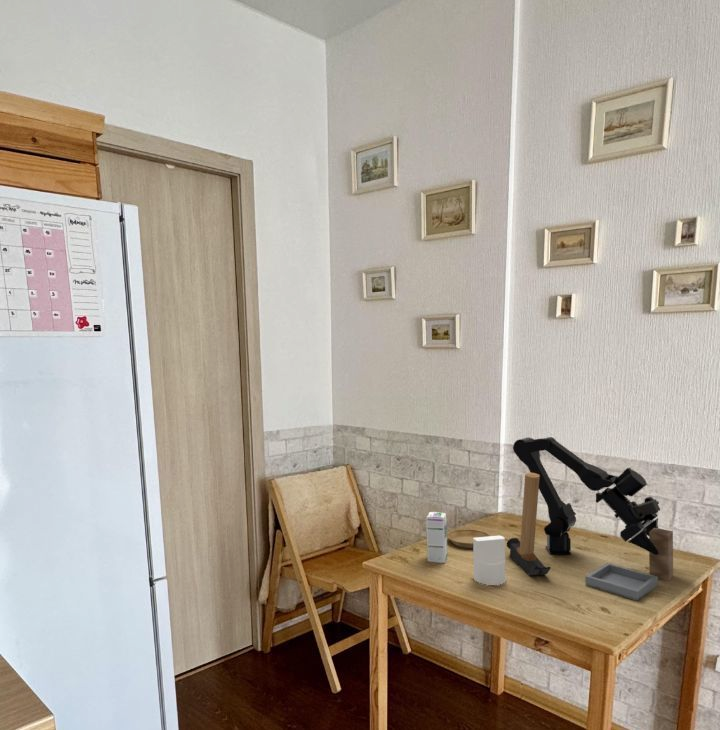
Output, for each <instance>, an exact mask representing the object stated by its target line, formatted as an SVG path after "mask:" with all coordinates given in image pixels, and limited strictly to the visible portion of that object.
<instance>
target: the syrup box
mask: <svg viewBox="0 0 720 730" xmlns="http://www.w3.org/2000/svg"><path fill="white" fill-rule="evenodd" d="M425 519H426V520H425V521H426V524H425V525H426V550H427V551H426V552H427V553H426V555H427V557H426V558H427V562H430V563H438V564H445V563H446V562H447V558H448V537H447V535H448V531H447V525H448V524H447V513H446V512H441V511H429V512H428V514H427V515H426V518H425Z"/></svg>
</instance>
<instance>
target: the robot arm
mask: <svg viewBox="0 0 720 730" xmlns="http://www.w3.org/2000/svg"><path fill="white" fill-rule="evenodd" d="M512 450H513V452H514V454H515V455H516V456H517V458H518V460H519V461H521V463H523V464H524V465H525V466H526V467H527V469H528V470H529V473H536V474H539V475H540V477H539V490H538V491H539V492H540V493H541V496H542V497H543V500H544V502H545V504H546V505H547V511H548V512H547V513H548V514H547V515H548V519H549V521H550V523H548V524H547V525H545V526H544V527H543V530H544V533H545V535H546V546H545V549H546V550H547V553H549V554H550V555H564V556H565V555H569V556H570V555H571V554H572V553H571V546H572V545H571V542H572V541H571V538H570V533H568V532H570V531H571V530H572V529H571V528H572V527H574V526H575V525H576V522H577V517H576V515H577V512H576V511H574V509H573V507H572V504H571V503H570V502H568V503H567V504H566V503H565V502H564V501H562V499H561V498H560V495H559V494H558V492H557V489H556V488H555V485H554V484H553V481H552V480H551V478H550V477H549V474H548V473H547V471H546V469H545V467H544V466H543V463H542V461H541V454H540V452H542V451H546V452H547V453H549V454H550V455H551V456H553V457H554V458H555V459H557V460H558V461H559V462H561V463H562V464H563V465H565V466H566V467H568V468H569V469H570V470H571V471H572V472H574V473H575V474H576V475H577V476H578V478H579V479H580V481H581V482H582V483H583V484H584V485H585V487H587V488H588V489H589V490H591V491H594V492H595V491H596V493H595V503H600V502H601V501H603V502H604V503H605V504H606V505H607V506H608V507H609V508H610V509H611V510H612V512H614V517H615V518H616V519H618V518H619V519H620V521H622V522H623V523H624V528H623V530H621V531H620V532H619V533H620V538H621V539H622V540H623V541H624V542H628V543H629V544H633V545H635V546H637V547H639V548H641V549H642V550H645V551H648V553H649V552H651V553H653V554H655V555H657V554H659V552H658V550H657V549H656V547H655V546H654V545H653V543H652V542H651V541H650V539H649V532H650V531H651V530H652V529H653V528H658V529H660V528H659V526H658V525H659V524H658V523H659V518H658V516H659V514H657V513H659V511H661V508H660V503H659V501H657V499H656V498H653V497H652V496H646V497H645V498H644V502H641V503H639V504H638V503H637V502H636V501H634V500H633V501H631V500H629V499H628V497H634V496H635V495H636V494H637V493H639V492H640V491H641V490H642V489H644V488H645V487H646V486H647V485H648V483H647V481H646V479H645V478H644V476H642V474H640V473H638V472H637V471H635V470H633V469H632V468H631V467H627V468H626V469H624V470H623V472H622V473H621V474H620V475H618V476H617V475H613V474H609V473H608V472H607V471H606V470H604V469H602V468H600V467H598V466H596V465H593V464H590V463H587V462H586V461H584V460H583V459H582V458H580V457H579V456H578V455H576V454H575V453H573V452H572V451H571V450H569V449H568V448H567V447H565V446H564V445H562V444H561V443H560V442H559V441H557V440H556V438H554V437H551V436H548V437H546V438H545V437H544V438H537V439H535V438H532V437H524V438H521V439H517V440H515V442H514V443H513V446H512ZM613 485H614V487H612V488H610V487H611V486H613ZM604 488H605V489H604ZM603 489H604V490H603ZM601 490H603V491H602V492H599V491H601ZM627 496H628V497H627ZM629 539H630V540H629Z"/></svg>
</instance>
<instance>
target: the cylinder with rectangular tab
mask: <svg viewBox="0 0 720 730" xmlns="http://www.w3.org/2000/svg"><path fill="white" fill-rule="evenodd" d="M472 550H473V580H474V581H475V582H476V581H477V582H479V583H478V584H480V583H482V584H481V585H483V584H486V585H485V586H488V585H497V586H501V585H504V584H505V583H506V539H505V537H504V536H502V535H490V536H488V537H476V538H473V548H472ZM477 582H476V583H477ZM503 583H504V584H503ZM500 584H501V585H500Z"/></svg>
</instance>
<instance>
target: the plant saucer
mask: <svg viewBox="0 0 720 730" xmlns="http://www.w3.org/2000/svg"><path fill="white" fill-rule="evenodd" d="M488 536H491V535H490V534H489V533H487V532H485V531H482V530H477V529H471V528H469V529H467V528H465V529H454V530H452V531H449V532H447V539H448V540H449V541H450V542H451V543H452V544H454V545H455V546H457V547H460V548H463V549H464V548H465V549H473V538H476V537H488Z"/></svg>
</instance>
